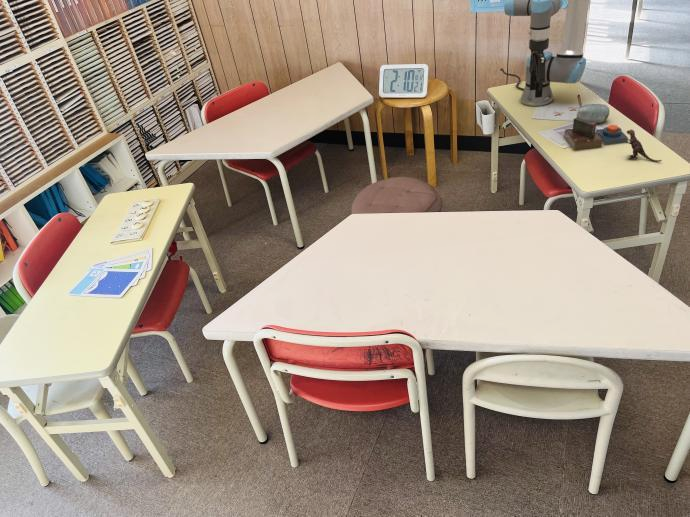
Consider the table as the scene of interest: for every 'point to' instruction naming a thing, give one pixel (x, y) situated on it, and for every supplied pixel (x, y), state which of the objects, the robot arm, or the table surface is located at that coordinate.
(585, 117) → the grey striped ovoid
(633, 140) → the dinosaur model
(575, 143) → the dial console
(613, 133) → the buzzer
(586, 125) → the pointer
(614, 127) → the button
